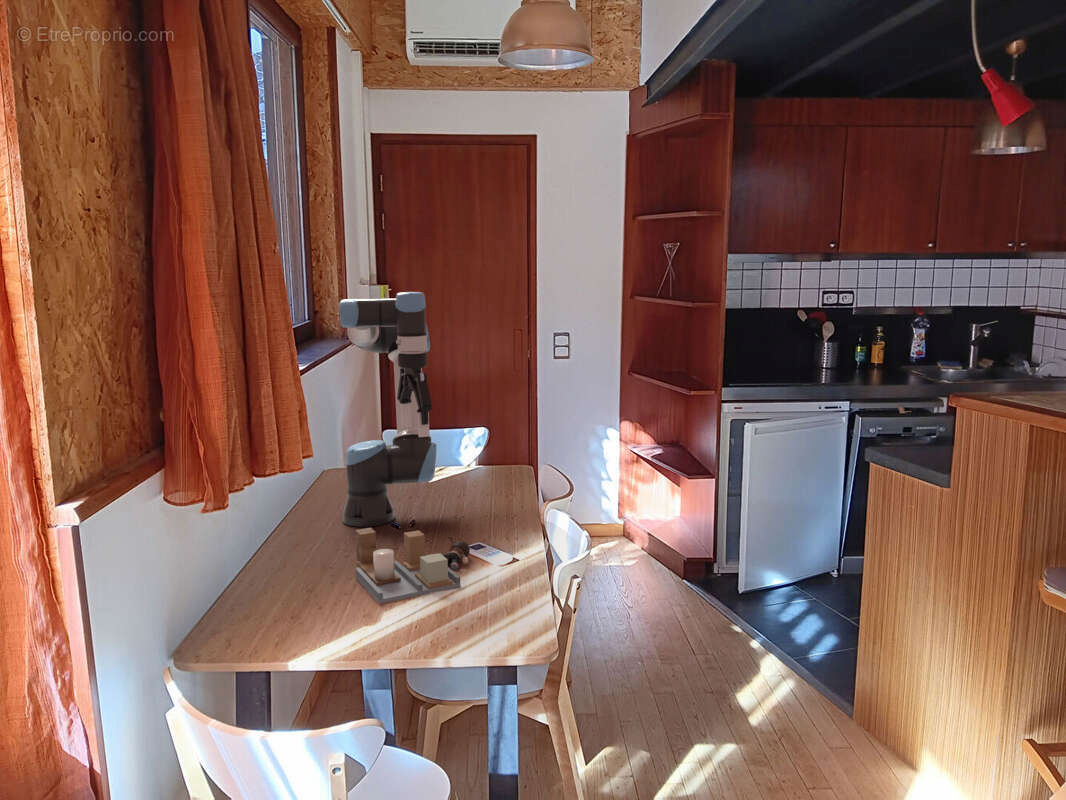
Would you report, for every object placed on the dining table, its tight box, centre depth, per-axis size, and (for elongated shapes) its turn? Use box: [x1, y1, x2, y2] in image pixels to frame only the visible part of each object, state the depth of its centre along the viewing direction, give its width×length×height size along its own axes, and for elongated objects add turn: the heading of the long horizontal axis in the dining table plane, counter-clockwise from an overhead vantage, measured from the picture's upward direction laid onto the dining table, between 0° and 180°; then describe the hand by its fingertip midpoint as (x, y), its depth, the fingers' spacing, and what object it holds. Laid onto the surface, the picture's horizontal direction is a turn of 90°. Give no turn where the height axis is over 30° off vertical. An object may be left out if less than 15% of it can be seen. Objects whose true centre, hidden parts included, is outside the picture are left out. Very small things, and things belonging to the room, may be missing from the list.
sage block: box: [420, 552, 449, 584], centre depth 199 cm, size 5×5×5 cm
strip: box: [355, 527, 401, 586], centre depth 206 cm, size 19×6×8 cm, turn 28°
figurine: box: [440, 540, 471, 571], centre depth 214 cm, size 8×5×10 cm
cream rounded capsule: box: [373, 548, 395, 580], centre depth 200 cm, size 5×5×6 cm
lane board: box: [354, 529, 462, 605], centre depth 201 cm, size 19×20×9 cm
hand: (415, 432), depth 221 cm, fingers open, 13 cm apart
